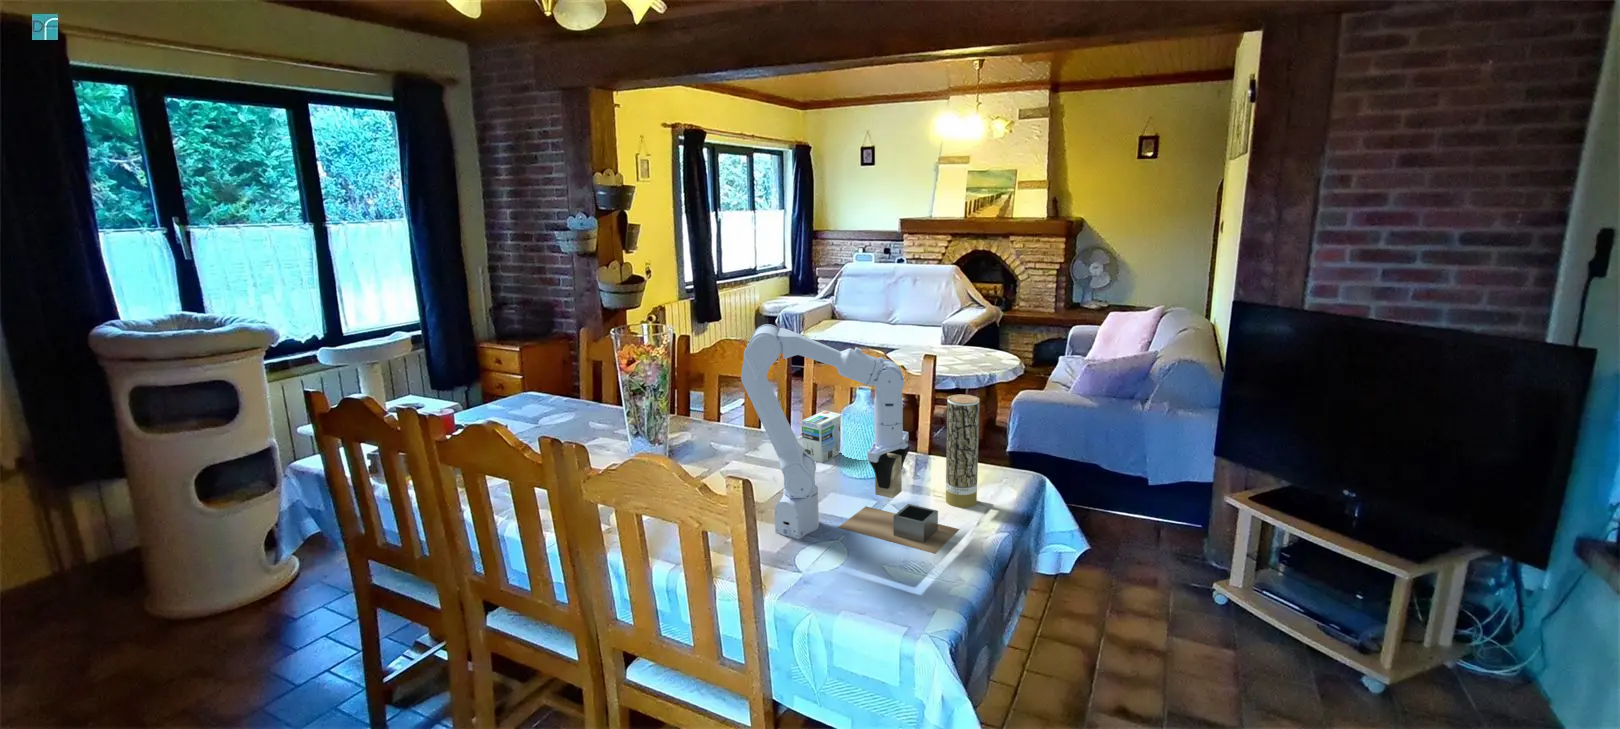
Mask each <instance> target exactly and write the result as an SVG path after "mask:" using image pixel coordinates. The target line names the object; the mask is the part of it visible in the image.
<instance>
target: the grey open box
mask: <svg viewBox="0 0 1620 729" xmlns="http://www.w3.org/2000/svg"><path fill="white" fill-rule="evenodd" d="M938 524H939V510H936V509H932V508H927V507H924V506H919V505H916V504H912V503H911V504H910V503H907V504H906V505H904V507H902V508H901V509H900V510H899V511H898V512H896V514H895V515H894V516H893V535H894V536H898V537H901V538H905V539H909V540H913V541H917V542H921V543H925V542H926V541H927V540H928V539H929V538H930V537H931V536H932V535H933V534H934V533H935V532H936V531H937V530H938Z"/></svg>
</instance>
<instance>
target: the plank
mask: <svg viewBox="0 0 1620 729" xmlns="http://www.w3.org/2000/svg"><path fill="white" fill-rule="evenodd" d="M896 513H897V512H896ZM896 513H895V512H890V511H887V510H882V509H878V508H874V507H870V506H866V505H865V506H864V507H863V508H862V509H861V510H859V511H858V512H856V513H855V514H853V515H852V516H851V517H849V518H848V519H847V520H846V521H844V522H843V523H841V525H839V526H837V529H840V530H841V529H842V530H846V531H849V532H853V533H857V534H860V535H864V536H867V537H872V538H875V539H879V540H883V541H886V542H891V543H894V544H897V545H901V546H906V547H909V548H911V549H912V548H913V549H916V550H920V551H923V552H928V553H931V554H936V553H938V552H939V550H941V548H942V547H943V546H945V544H947V542H949V540H951V538H953V536H955V534H956V533H958V532H959V530H960V528H956V527H952V526H949V525H945V524H940V523H938V530H937V531H936V532H935V533H934V534H933V535H932V536H931V537H930V538H929V539H928V540H927V541H926V542H925V543H921V542H917V541H913V540H909V539H905V538H901V537H898V536H894V535H893V516H894V515H895V514H896Z"/></svg>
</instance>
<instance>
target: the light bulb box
mask: <svg viewBox="0 0 1620 729" xmlns="http://www.w3.org/2000/svg"><path fill="white" fill-rule="evenodd" d="M841 414H842V413H839V412H833V411H829V410H822V411H820V412H818V413H815V414H813V415H811V416H809V417H807V418H805V419H802V420H801V429H802V430H801V432H802V433H801V434H802V447H803V449H804V451H805V452H806V454H807V455H809V456H810V457H811V458H812V459H813V460H814V462H816V463H819V464H820V463H821V464H822V463H824V462H826V461H828V460H831V459H833V458H835V457H837V456H838V455H840V454H839V451H840V415H841Z"/></svg>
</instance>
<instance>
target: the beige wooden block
mask: <svg viewBox="0 0 1620 729" xmlns="http://www.w3.org/2000/svg"><path fill="white" fill-rule="evenodd" d="M887 456H889V457H890V458H896V460H895V462H894V465H893V468H892V472H891V481H890V486H889V488H888V489H885V488H880V487H879V486H878V482H877V478H876V475H875V474H874V476H875V477H874V478H875V482H874V483H875V484H874V485H875V496H879V497H881V496H882V497H886V498H889V499H894V498H895V497H897V496H898V495H900V494H901V493H902V490H903V488H902V486H903V483H902V482H903V480H902V479H903V478H902V472H903V471H902V469H903V468H902V469H901V455H897V454H892V453H887Z"/></svg>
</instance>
